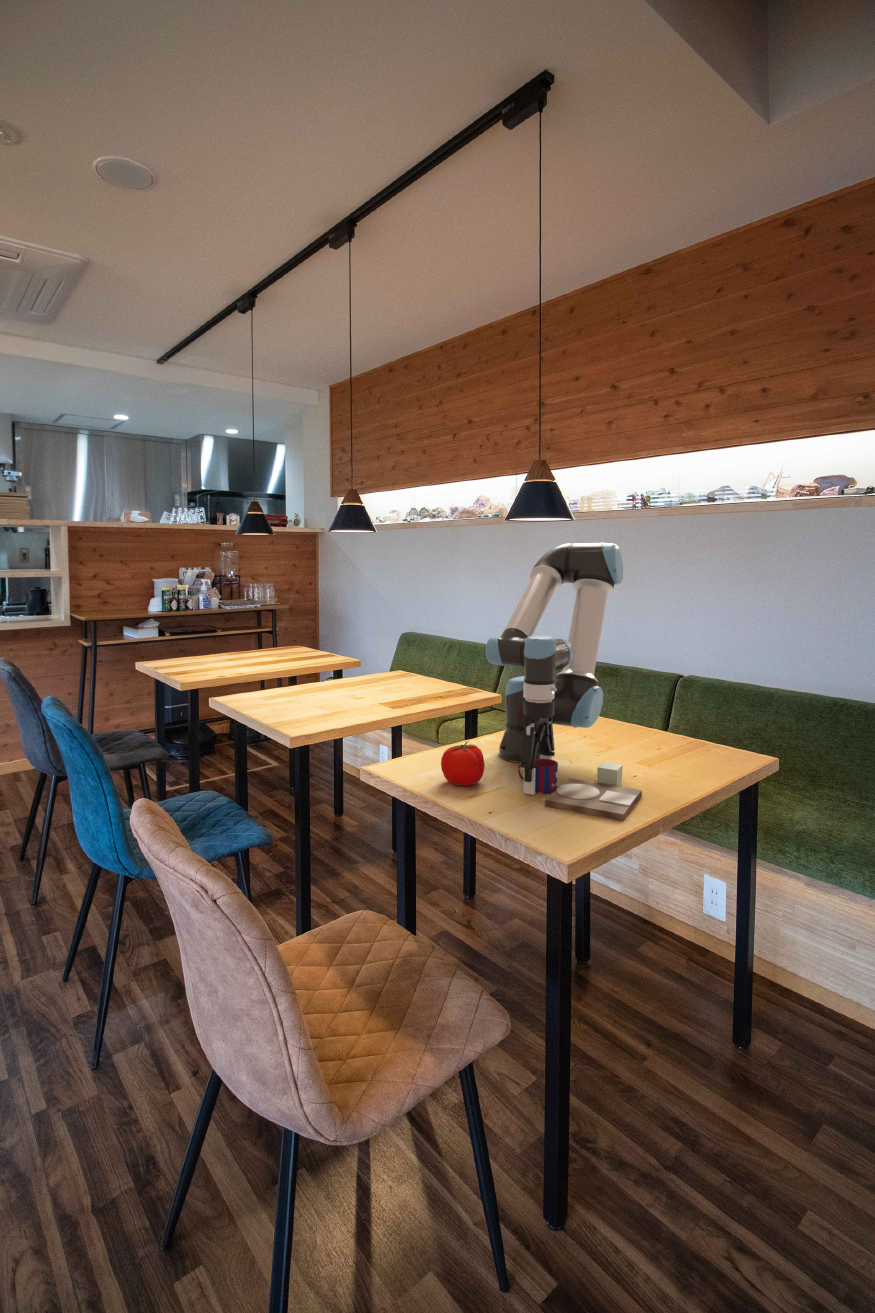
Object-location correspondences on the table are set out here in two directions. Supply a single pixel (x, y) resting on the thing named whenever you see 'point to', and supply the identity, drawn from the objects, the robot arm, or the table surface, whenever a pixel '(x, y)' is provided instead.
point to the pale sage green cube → (609, 774)
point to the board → (594, 798)
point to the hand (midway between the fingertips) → (537, 787)
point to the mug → (544, 775)
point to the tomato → (463, 764)
